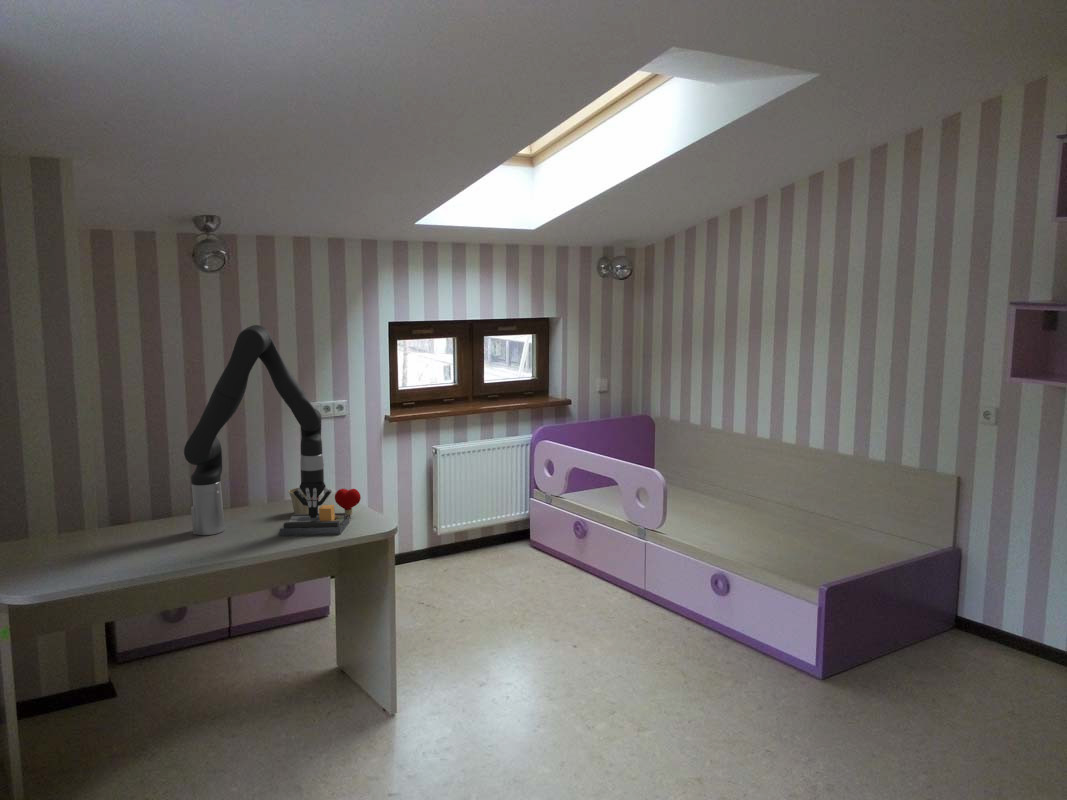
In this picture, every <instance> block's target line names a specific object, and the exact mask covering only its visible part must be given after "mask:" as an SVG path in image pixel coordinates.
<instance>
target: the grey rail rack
mask: <svg viewBox="0 0 1067 800" xmlns="http://www.w3.org/2000/svg"><path fill="white" fill-rule="evenodd" d="M334 513H335V515H344V518H345V517H346V516H347V515H345V512H334ZM291 516H309V514H295V513H293V514H291ZM317 516H319V512H318V515H317ZM283 525H284V528H289V527H329V526H338V525H339V521H331V522H291V523H286V522H284V523H283Z"/></svg>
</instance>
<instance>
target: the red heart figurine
mask: <svg viewBox="0 0 1067 800" xmlns="http://www.w3.org/2000/svg"><path fill="white" fill-rule="evenodd" d="M361 499H362V496H361V493H360V491H359V490H357V489H356V488H350V489H345V488H340V489H338V490H337V491H336V492H335V495H334V500H335V503H336V505H338V506H339V507H340V508H342V509H344V513H345V515H346V516H348V515H349V517H351V516H352V515H353V508H354V507H355V506H357V505H359V503H360V501H361Z"/></svg>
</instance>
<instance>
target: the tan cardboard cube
mask: <svg viewBox="0 0 1067 800" xmlns="http://www.w3.org/2000/svg"><path fill="white" fill-rule="evenodd" d="M318 513H319V517H320V521H326V520H334V519H335V513H336V512H335V504H322V505H320V507H318Z"/></svg>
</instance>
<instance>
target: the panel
mask: <svg viewBox="0 0 1067 800" xmlns="http://www.w3.org/2000/svg"><path fill="white" fill-rule="evenodd" d="M331 521H339V525H338V526H329V527H289V528H284V524H283V525H282V526H281V527H280V528H279V535H280V536H281V537H287V536H288V537H291V536H292V537H295V536H297V537H298V535H299V536H326V535H327V536H332V535H333V536H334V535H335V536H336V535H338V536H339V535H342V533H343V532H344V530H346V528H347V527H348V526H349V524H350V516H349V515H348V516H347V515H346V517H345V518H344V515H335V519H334V520H326V521H320V517H319V516H316V517H315V518H311V517H310V516H292V515H291V517H290V518H289V519H288V520H287V521H285V523H291V522H331Z"/></svg>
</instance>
